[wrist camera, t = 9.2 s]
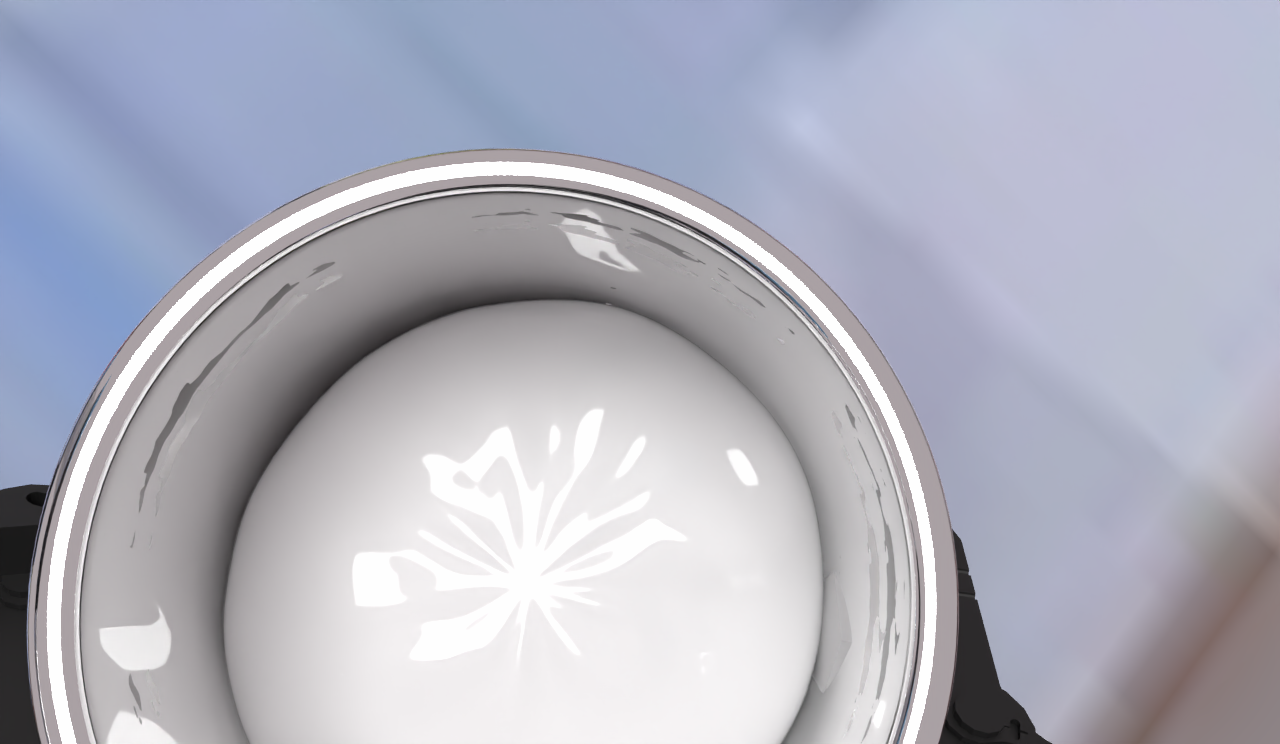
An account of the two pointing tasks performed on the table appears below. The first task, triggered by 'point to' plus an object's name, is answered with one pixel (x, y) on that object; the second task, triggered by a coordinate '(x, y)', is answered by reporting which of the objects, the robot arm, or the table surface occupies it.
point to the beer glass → (494, 484)
